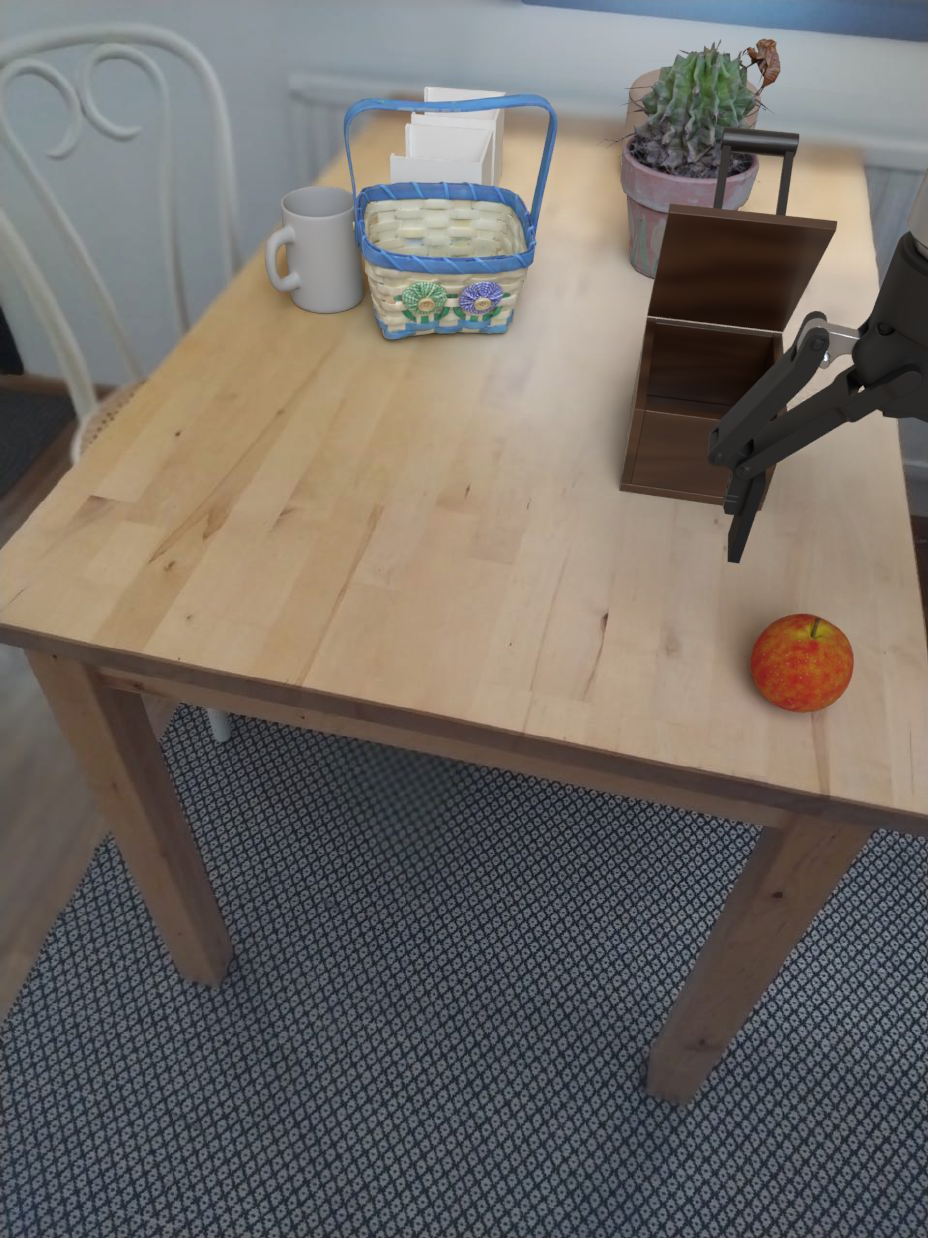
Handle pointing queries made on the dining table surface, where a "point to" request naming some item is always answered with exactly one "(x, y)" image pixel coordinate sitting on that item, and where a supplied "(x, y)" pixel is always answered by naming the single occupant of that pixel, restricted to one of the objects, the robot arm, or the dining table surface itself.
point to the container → (649, 80)
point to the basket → (446, 238)
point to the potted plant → (689, 142)
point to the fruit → (802, 663)
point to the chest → (690, 405)
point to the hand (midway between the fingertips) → (839, 565)
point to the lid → (739, 250)
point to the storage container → (452, 143)
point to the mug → (318, 250)
